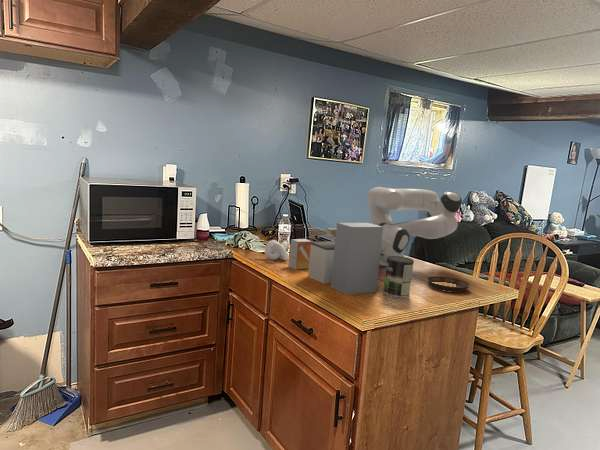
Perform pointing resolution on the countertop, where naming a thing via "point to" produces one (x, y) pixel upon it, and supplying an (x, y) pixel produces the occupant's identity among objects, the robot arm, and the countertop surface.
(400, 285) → the coffee can
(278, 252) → the grey rounded lump
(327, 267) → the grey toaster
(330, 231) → the birch slat
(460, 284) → the plant saucer
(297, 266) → the small box
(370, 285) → the grey stand
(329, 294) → the countertop surface
